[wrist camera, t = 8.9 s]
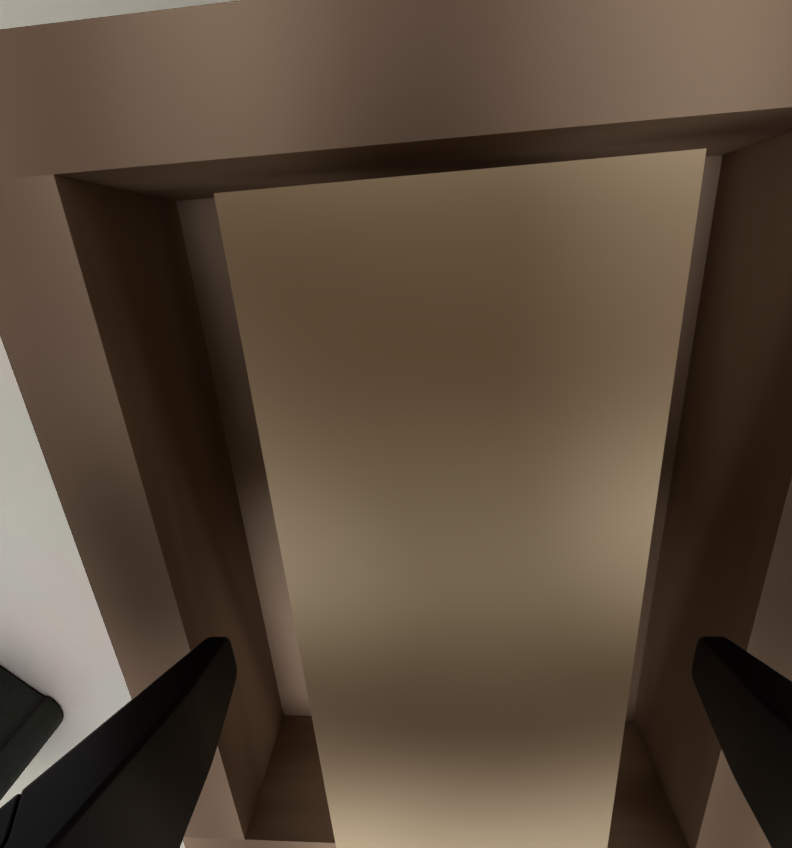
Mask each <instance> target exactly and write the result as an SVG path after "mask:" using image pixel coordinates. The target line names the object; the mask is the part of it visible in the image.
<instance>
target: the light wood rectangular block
mask: <svg viewBox="0 0 792 848" xmlns="http://www.w3.org/2000/svg"><path fill="white" fill-rule="evenodd" d="M706 149H707V148H705V149H694V150H683V151H672V152H662V153H651V154H640V155H629V156H618V157H607V158H596V159H585V160H574V161H563V162H552V163H541V164H530V165H519V166H508V167H497V168H486V169H475V170H464V171H453V172H442V173H431V174H420V175H409V176H398V177H387V178H376V179H365V180H354V181H343V182H332V183H321V184H310V185H299V186H288V187H278V188H267V189H256V190H245V191H234V192H223V193H214V198H215V203H216V208H217V214H218V219H219V224H220V230H221V235H222V241H223V246H224V251H225V257H226V262H227V267H228V273H229V278H230V283H231V289H232V294H233V299H234V305H235V310H236V315H237V321H238V326H239V331H240V337H241V342H242V347H243V353H244V358H245V363H246V369H247V374H248V379H249V385H250V390H251V395H252V401H253V406H254V411H255V417H256V422H257V427H258V433H259V438H260V443H261V449H262V454H263V459H264V465H265V470H266V476H267V481H268V486H269V492H270V497H271V502H272V508H273V513H274V518H275V524H276V529H277V534H278V540H279V545H280V550H281V556H282V561H283V566H284V572H285V577H286V582H287V588H288V593H289V598H290V604H291V609H292V614H293V620H294V625H295V630H296V636H297V641H298V646H299V652H300V657H301V662H302V668H303V673H304V678H305V684H306V689H307V694H308V700H309V705H310V711H311V716H312V721H313V727H314V732H315V737H316V743H317V748H318V753H319V759H320V764H321V769H322V775H323V780H324V785H325V791H326V796H327V801H328V807H329V812H330V817H331V823H332V828H333V833H334V839H335V844H336V848H607V847H608V840H609V833H610V825H611V818H612V811H613V804H614V797H615V790H616V783H617V776H618V769H619V762H620V755H621V748H622V741H623V734H624V727H625V720H626V713H627V706H628V699H629V692H630V685H631V678H632V671H633V663H634V656H635V649H636V642H637V635H638V628H639V621H640V614H641V607H642V600H643V593H644V586H645V579H646V572H647V565H648V558H649V551H650V544H651V537H652V530H653V523H654V516H655V509H656V501H657V494H658V487H659V480H660V473H661V466H662V459H663V452H664V445H665V438H666V431H667V424H668V417H669V410H670V403H671V396H672V389H673V382H674V375H675V368H676V361H677V354H678V347H679V339H680V332H681V325H682V318H683V311H684V304H685V297H686V290H687V283H688V276H689V269H690V262H691V255H692V248H693V241H694V234H695V227H696V220H697V213H698V206H699V199H700V192H701V185H702V177H703V170H704V163H705V156H706Z"/></svg>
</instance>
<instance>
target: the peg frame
mask: <svg viewBox="0 0 792 848" xmlns="http://www.w3.org/2000/svg"><path fill="white" fill-rule="evenodd" d="M705 148H707V149H706V156H705V163H704V170H703V177H702V185H701V192H700V199H699V206H698V213H697V220H696V227H695V234H694V241H693V248H692V255H691V262H690V269H689V276H688V283H687V290H686V297H685V304H684V311H683V318H682V325H681V332H680V339H679V347H678V354H677V361H676V368H675V375H674V382H673V389H672V396H671V403H670V410H669V417H668V424H667V431H666V438H665V445H664V452H663V459H662V466H661V473H660V480H659V487H658V494H657V501H656V509H655V516H654V523H653V530H652V537H651V544H650V551H649V558H648V565H647V572H646V579H645V586H644V593H643V600H642V607H641V614H640V621H639V628H638V635H637V642H636V649H635V656H634V663H633V671H632V678H631V685H630V692H629V699H628V706H627V713H626V720H625V727H624V734H623V741H622V748H621V755H620V762H619V769H618V776H617V783H616V790H615V797H614V804H613V811H612V818H611V825H610V833H609V840H608V847H607V848H771V846H770V844H769V842H768V840H767V838H766V836H765V834H764V833H763V831H762V829H761V827H760V825H759V823H758V821H757V820H756V818H755V816H754V814H753V812H752V810H751V808H750V806H749V805H748V803H747V801H746V799H745V797H744V795H743V793H742V791H741V789H740V788H739V786H738V784H737V782H736V780H735V778H734V776H733V774H732V771H731V769H730V767H729V765H728V763H727V760H726V758H725V756H724V753H723V751H722V749H721V746H720V744H719V742H718V739H717V737H716V735H715V732H714V730H713V728H712V725H711V723H710V721H709V718H708V716H707V714H706V711H705V709H704V707H703V704H702V702H701V700H700V697H699V695H698V692H697V690H696V688H695V685H694V683H693V680H692V675H691V667H692V662H693V657H694V652H695V647H696V643H697V640H698V639H699V638H700V637H702V636H722V637H725V638H727V639H729V640H730V641H732V642H733V643H735V644H736V645H738V646H739V647H741V648H742V649H744V650H745V651H747V652H748V653H750V654H751V655H753V656H754V657H756V658H757V659H759V660H760V661H762V662H763V663H765V664H766V665H768V666H769V667H771V668H772V669H774V670H775V671H777V672H778V673H780V674H781V675H783V676H784V677H786V678H787V679H789V680H790V681H792V0H240V1H231V2H223V3H215V4H207V5H199V6H190V7H182V8H174V9H166V10H157V11H149V12H141V13H133V14H124V15H116V16H108V17H100V18H92V19H83V20H75V21H67V22H59V23H50V24H42V25H34V26H26V27H17V28H9V29H1V30H0V336H1V339H2V342H3V344H4V347H5V350H6V353H7V355H8V358H9V361H10V364H11V367H12V369H13V372H14V375H15V378H16V380H17V383H18V386H19V389H20V391H21V394H22V397H23V400H24V402H25V405H26V408H27V411H28V413H29V416H30V419H31V422H32V425H33V427H34V430H35V433H36V436H37V438H38V441H39V444H40V447H41V449H42V452H43V455H44V458H45V460H46V463H47V466H48V469H49V471H50V474H51V477H52V480H53V483H54V485H55V488H56V491H57V494H58V496H59V499H60V502H61V505H62V507H63V510H64V513H65V516H66V518H67V521H68V524H69V527H70V530H71V532H72V535H73V538H74V541H75V543H76V546H77V549H78V552H79V554H80V557H81V560H82V563H83V565H84V568H85V571H86V574H87V576H88V579H89V582H90V585H91V588H92V590H93V593H94V596H95V599H96V601H97V604H98V607H99V610H100V612H101V615H102V618H103V621H104V623H105V626H106V629H107V632H108V635H109V637H110V640H111V643H112V646H113V648H114V651H115V654H116V657H117V659H118V662H119V665H120V668H121V670H122V673H123V676H124V679H125V681H126V684H127V687H128V690H129V693H130V695H131V698H132V699H133V698H134V697H136V696H137V695H138V694H139V693H141V692H142V691H143V690H144V689H145V688H147V687H148V686H149V685H150V684H151V683H153V682H154V681H155V680H156V679H157V678H159V677H160V676H161V675H162V674H164V673H165V672H166V671H167V670H168V669H170V668H171V667H172V666H173V665H174V664H176V663H177V662H178V661H179V660H180V659H182V658H183V657H184V656H185V655H187V654H188V653H189V652H190V651H191V650H193V649H194V648H195V647H196V646H197V645H199V644H200V643H201V642H202V641H203V640H205V639H206V638H208V637H228V638H229V639H230V640H231V643H232V647H233V651H234V655H235V660H236V664H237V679H236V683H235V686H234V690H233V693H232V697H231V700H230V704H229V707H228V711H227V714H226V718H225V721H224V725H223V728H222V732H221V735H220V739H219V742H218V746H217V749H216V752H215V756H214V759H213V762H212V765H211V768H210V770H209V773H208V776H207V779H206V781H205V784H204V786H203V789H202V791H201V794H200V797H199V799H198V802H197V804H196V807H195V809H194V812H193V815H192V817H191V820H190V822H189V825H188V828H187V830H186V833H185V835H184V838H183V842H184V844H185V847H186V848H336V844H335V839H334V833H333V828H332V823H331V817H330V812H329V807H328V801H327V796H326V791H325V785H324V780H323V775H322V769H321V764H320V759H319V753H318V748H317V743H316V737H315V732H314V727H313V721H312V716H311V711H310V705H309V700H308V694H307V689H306V684H305V678H304V673H303V668H302V662H301V657H300V652H299V646H298V641H297V636H296V630H295V625H294V620H293V614H292V609H291V604H290V598H289V593H288V588H287V582H286V577H285V572H284V566H283V561H282V556H281V550H280V545H279V540H278V534H277V529H276V524H275V518H274V513H273V508H272V502H271V497H270V492H269V486H268V481H267V476H266V470H265V465H264V459H263V454H262V449H261V443H260V438H259V433H258V427H257V422H256V417H255V411H254V406H253V401H252V395H251V390H250V385H249V379H248V374H247V369H246V363H245V358H244V353H243V347H242V342H241V337H240V331H239V326H238V321H237V315H236V310H235V305H234V299H233V294H232V289H231V283H230V278H229V273H228V267H227V262H226V257H225V251H224V246H223V241H222V235H221V230H220V224H219V219H218V214H217V208H216V203H215V198H214V193H223V192H234V191H245V190H256V189H267V188H278V187H288V186H299V185H310V184H321V183H332V182H343V181H354V180H365V179H376V178H387V177H398V176H409V175H420V174H431V173H442V172H453V171H464V170H475V169H486V168H497V167H508V166H519V165H530V164H541V163H552V162H563V161H574V160H585V159H596V158H607V157H618V156H629V155H640V154H651V153H662V152H672V151H683V150H694V149H705Z"/></svg>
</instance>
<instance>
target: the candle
mask: <svg viewBox="0 0 792 848" xmlns="http://www.w3.org/2000/svg"><path fill="white" fill-rule="evenodd" d="M62 718H63V716H62V711H61V709H60V707H59V706H58V705H57V703H56V702H55V701H53V700H52V699H51V698H50V697H43V696H42V695H40V694H39V693H38V692H36V691H35V690H33V689H32V688H30V687H29V686H27V685H26V684H25V683H23V682H22V681H20V680H19V679H17V678H16V677H14V676H13V675H12V674H10V673H9V672H7V671H6V670H4V669H3V668H2V667H0V800H1V799H2V798H3V796H4V795H5V794H6V793H7V791H8V790H9V789H10V787H11V786H12V785H13V784H14V782H15V781H16V780H17V779H18V777H19V776H20V775H21V773H22V772H23V771H24V770H25V768H26V767H27V766H28V765H29V763H30V762H31V761H32V759H33V758H34V757H35V756H36V754H37V753H38V752H39V751H40V749H41V748H42V747H43V745H44V744H45V743H46V742H47V740H48V739H49V738H50V736H51V735H52V734H53V733H54V731H55V730H56V729H57V728H58V726H59V725H60V724H61V722H62Z"/></svg>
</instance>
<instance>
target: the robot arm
mask: <svg viewBox="0 0 792 848" xmlns="http://www.w3.org/2000/svg"><path fill="white" fill-rule="evenodd" d="M691 675H692V680H693V683H694V685H695V688H696V690H697V692H698V695H699V697H700V700H701V702H702V704H703V707H704V709H705V711H706V714H707V716H708V718H709V721H710V723H711V725H712V728H713V730H714V732H715V735H716V737H717V739H718V742H719V744H720V746H721V749H722V751H723V753H724V756H725V758H726V760H727V763H728V765H729V767H730V769H731V771H732V774H733V776H734V778H735V780H736V782H737V784H738V786H739V788H740V789H741V791H742V793H743V795H744V797H745V799H746V801H747V803H748V805H749V806H750V808H751V810H752V812H753V814H754V816H755V818H756V820H757V821H758V823H759V825H760V827H761V829H762V831H763V833H764V834H765V836H766V838H767V840H768V842H769V844H770V846H771V848H792V681H790V680H789V679H787V678H786V677H784V676H783V675H781V674H780V673H778V672H777V671H775V670H774V669H772V668H771V667H769V666H768V665H766V664H765V663H763V662H762V661H760V660H759V659H757V658H756V657H754V656H753V655H751V654H750V653H748V652H747V651H745V650H744V649H742V648H741V647H739V646H738V645H736V644H735V643H733V642H732V641H730V640H729V639H727V638H725V637H722V636H702V637H700V638H699V639H698V640H697V643H696V647H695V652H694V657H693V662H692V667H691ZM236 679H237V664H236V660H235V655H234V651H233V647H232V643H231V640H230V639H229V638H228V637H208V638H206V639H205V640H203V641H202V642H201V643H200V644H199V645H197V646H196V647H195V648H194V649H193V650H191V651H190V652H189V653H188V654H187V655H185V656H184V657H183V658H182V659H180V660H179V661H178V662H177V663H176V664H174V665H173V666H172V667H171V668H170V669H168V670H167V671H166V672H165V673H164V674H162V675H161V676H160V677H159V678H157V679H156V680H155V681H154V682H153V683H151V684H150V685H149V686H148V687H147V688H145V689H144V690H143V691H142V692H141V693H139V694H138V695H137V696H136V697H134V698H133V699H132V700H131V701H130V702H128V703H127V704H126V705H125V706H124V707H122V708H121V709H120V710H119V711H118V712H116V713H115V714H114V715H113V716H111V717H110V718H109V719H108V720H107V721H105V722H104V723H103V724H102V725H101V726H99V727H98V728H97V729H96V730H95V731H93V732H92V733H91V734H90V735H88V736H87V737H86V738H85V739H84V740H82V741H81V742H80V743H79V744H78V745H76V746H75V747H74V748H73V749H72V750H70V751H69V752H68V753H67V754H65V755H64V756H63V757H62V758H61V759H59V760H58V761H57V762H56V763H55V764H53V765H52V766H51V767H50V768H49V769H47V770H46V771H45V772H44V773H42V774H41V775H40V776H39V777H38V778H36V779H35V780H34V781H33V782H32V783H30V784H29V785H28V786H27V787H26V788H24V789H23V791H22V793H21V794H17V795H16V796H14V797H13V798H12V799H11V800H10V801H8V802H7V803H6V804H5V805H3V806H2V807H1V808H0V848H180V846H181V843H182V840H183V838H184V835H185V833H186V830H187V828H188V825H189V822H190V820H191V817H192V815H193V812H194V809H195V807H196V804H197V802H198V799H199V797H200V794H201V791H202V789H203V786H204V784H205V781H206V779H207V776H208V773H209V770H210V768H211V765H212V762H213V759H214V756H215V752H216V749H217V746H218V742H219V739H220V735H221V732H222V728H223V725H224V721H225V718H226V714H227V711H228V707H229V704H230V700H231V697H232V693H233V690H234V686H235V683H236Z"/></svg>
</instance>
